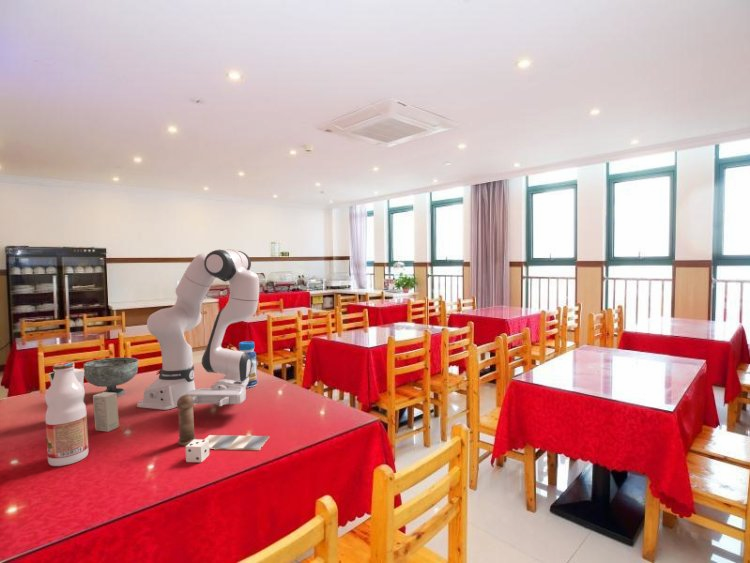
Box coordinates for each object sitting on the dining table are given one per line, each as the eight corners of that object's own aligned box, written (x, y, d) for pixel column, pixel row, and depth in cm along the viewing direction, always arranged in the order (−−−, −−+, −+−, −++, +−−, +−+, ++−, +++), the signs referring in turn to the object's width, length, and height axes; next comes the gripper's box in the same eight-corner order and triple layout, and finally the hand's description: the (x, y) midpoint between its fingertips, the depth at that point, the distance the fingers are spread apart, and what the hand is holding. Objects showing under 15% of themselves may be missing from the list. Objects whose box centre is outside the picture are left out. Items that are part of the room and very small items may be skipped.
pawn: (174, 445, 123) (172, 397, 123) (183, 438, 129) (182, 392, 128) (190, 446, 123) (188, 398, 122) (199, 438, 128) (197, 392, 127)
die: (185, 462, 113) (184, 446, 112) (194, 454, 117) (194, 438, 117) (202, 463, 112) (201, 446, 112) (210, 454, 117) (209, 439, 117)
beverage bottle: (260, 382, 188) (259, 340, 187) (253, 388, 179) (251, 344, 178) (243, 382, 188) (241, 340, 187) (235, 388, 180) (233, 344, 179)
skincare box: (119, 427, 139) (117, 392, 138) (107, 432, 134) (105, 396, 134) (106, 425, 141) (104, 391, 140) (93, 430, 136) (92, 395, 136)
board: (194, 449, 121) (194, 447, 121) (209, 436, 130) (209, 434, 130) (259, 450, 119) (259, 448, 119) (269, 437, 128) (269, 435, 128)
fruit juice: (72, 467, 111) (67, 367, 110) (39, 467, 112) (33, 368, 110) (96, 451, 121) (91, 359, 120) (65, 451, 121) (60, 359, 120)
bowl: (147, 391, 177) (146, 358, 177) (99, 405, 161) (97, 368, 160) (125, 385, 188) (123, 353, 187) (77, 397, 172) (75, 362, 171)
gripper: (196, 382, 151) (175, 394, 138) (249, 382, 150) (233, 395, 136) (197, 399, 152) (176, 412, 138) (249, 399, 150) (233, 413, 136)
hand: (205, 403), depth 137 cm, fingers open, 8 cm apart
